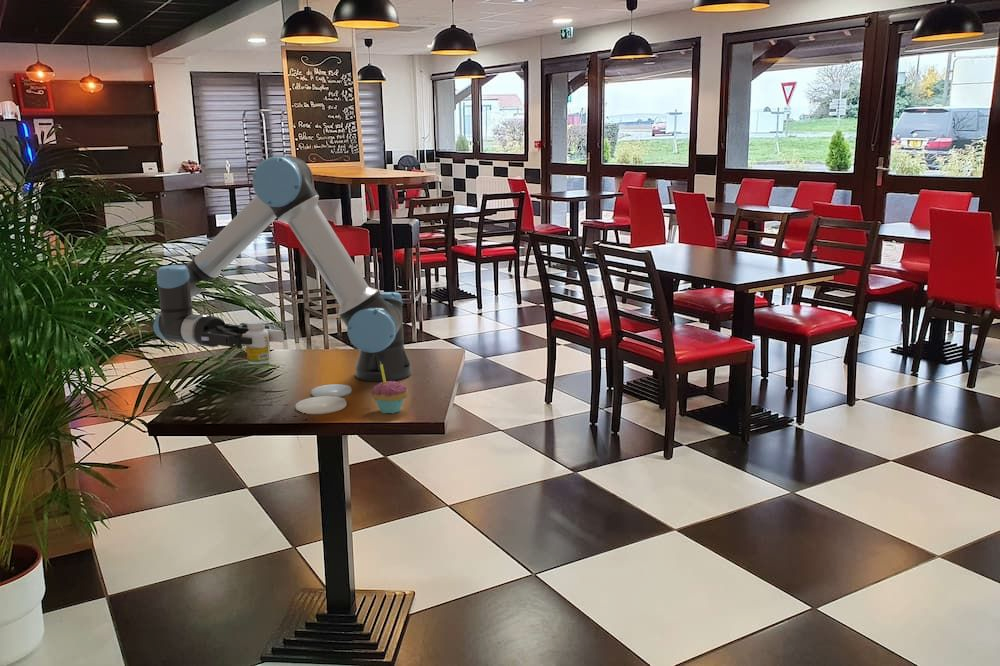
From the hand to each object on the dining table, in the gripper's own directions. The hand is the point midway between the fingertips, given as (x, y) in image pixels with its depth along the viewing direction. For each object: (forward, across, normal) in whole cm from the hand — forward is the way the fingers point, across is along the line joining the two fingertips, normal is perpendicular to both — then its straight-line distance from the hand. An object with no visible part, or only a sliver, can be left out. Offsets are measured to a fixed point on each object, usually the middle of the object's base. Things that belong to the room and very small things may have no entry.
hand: (273, 339), depth 191 cm
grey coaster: (+2, -16, -17) cm, 24 cm away
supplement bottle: (-5, 0, -6) cm, 8 cm away
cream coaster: (+8, -6, -17) cm, 20 cm away
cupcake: (+25, -12, -18) cm, 32 cm away
